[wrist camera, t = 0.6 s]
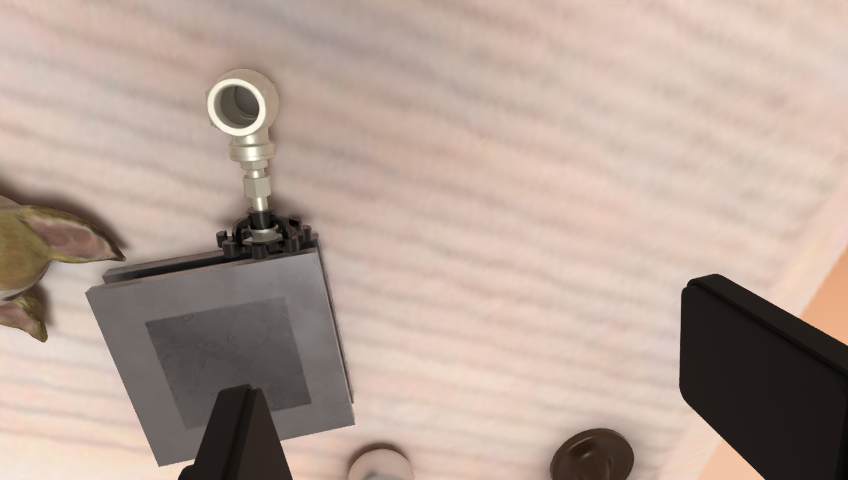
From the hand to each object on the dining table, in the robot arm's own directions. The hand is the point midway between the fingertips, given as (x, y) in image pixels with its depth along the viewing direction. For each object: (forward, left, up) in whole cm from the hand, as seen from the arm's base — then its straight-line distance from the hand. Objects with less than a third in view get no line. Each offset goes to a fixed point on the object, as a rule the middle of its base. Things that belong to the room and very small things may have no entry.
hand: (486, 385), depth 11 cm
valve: (-1, -9, -30) cm, 32 cm away
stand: (+14, -14, -30) cm, 36 cm away
